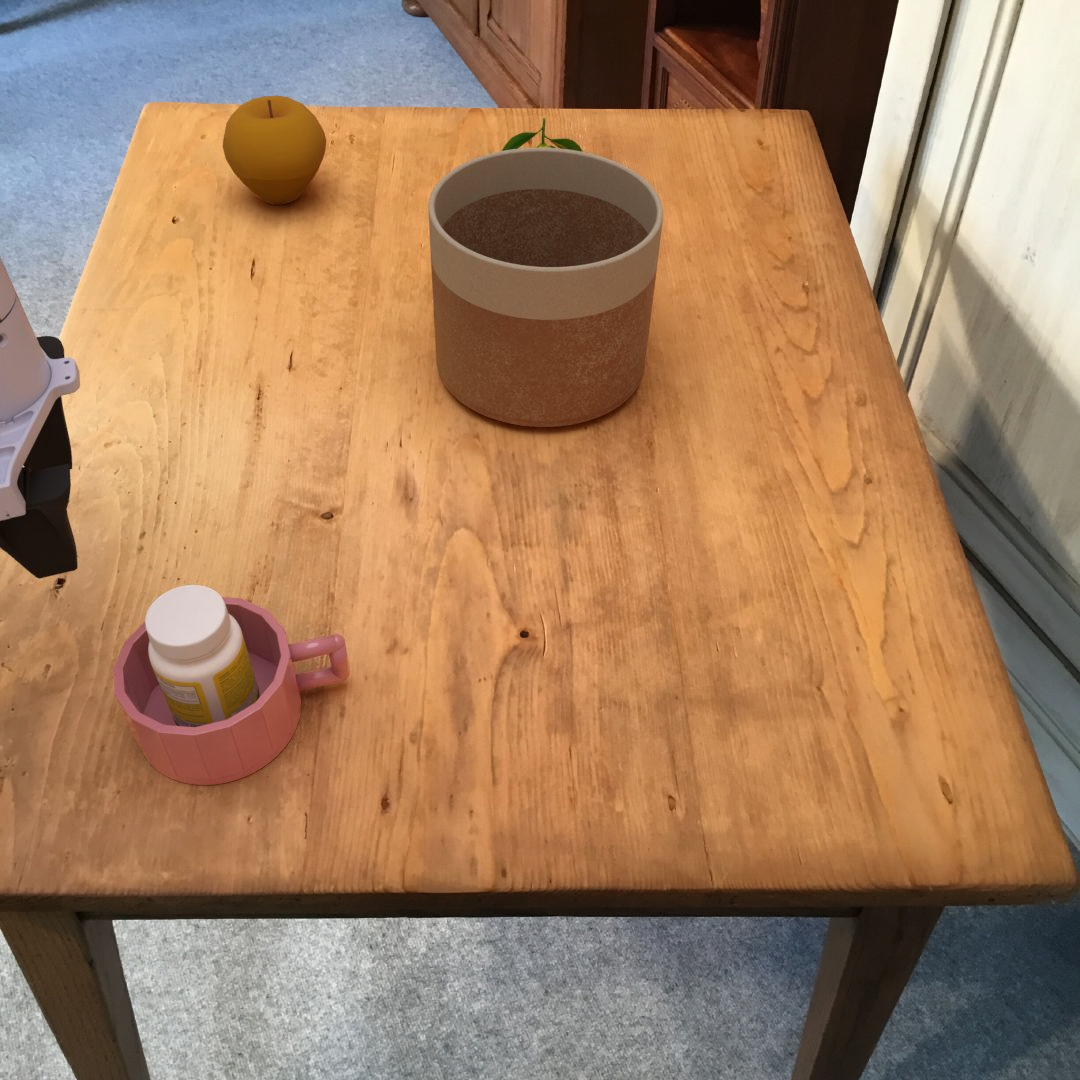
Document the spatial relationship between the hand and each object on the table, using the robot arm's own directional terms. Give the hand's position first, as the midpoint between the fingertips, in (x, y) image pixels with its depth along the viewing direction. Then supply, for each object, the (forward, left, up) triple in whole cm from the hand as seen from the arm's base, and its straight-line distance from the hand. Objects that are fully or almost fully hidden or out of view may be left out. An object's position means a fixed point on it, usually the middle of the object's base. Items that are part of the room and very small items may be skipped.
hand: (55, 517), depth 58 cm
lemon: (+39, +36, -10) cm, 54 cm away
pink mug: (+7, -8, -9) cm, 15 cm away
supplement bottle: (+6, -8, -9) cm, 14 cm away
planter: (+33, +17, -10) cm, 38 cm away
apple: (+18, +47, -10) cm, 51 cm away
